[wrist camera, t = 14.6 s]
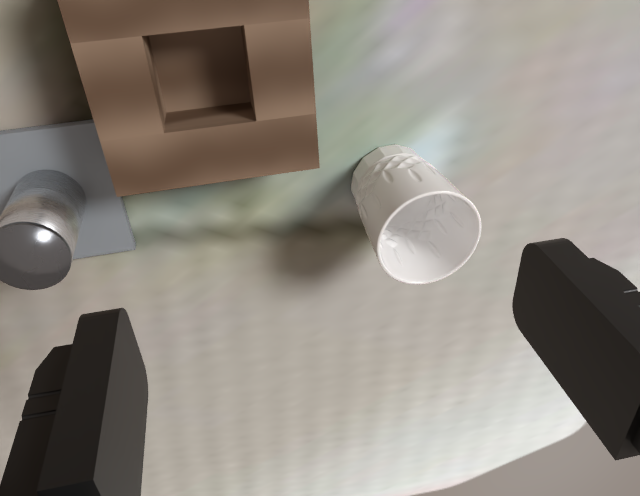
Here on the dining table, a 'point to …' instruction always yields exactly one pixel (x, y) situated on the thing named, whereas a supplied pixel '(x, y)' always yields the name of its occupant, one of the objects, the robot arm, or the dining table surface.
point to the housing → (196, 88)
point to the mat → (83, 166)
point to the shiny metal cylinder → (40, 229)
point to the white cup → (413, 216)
